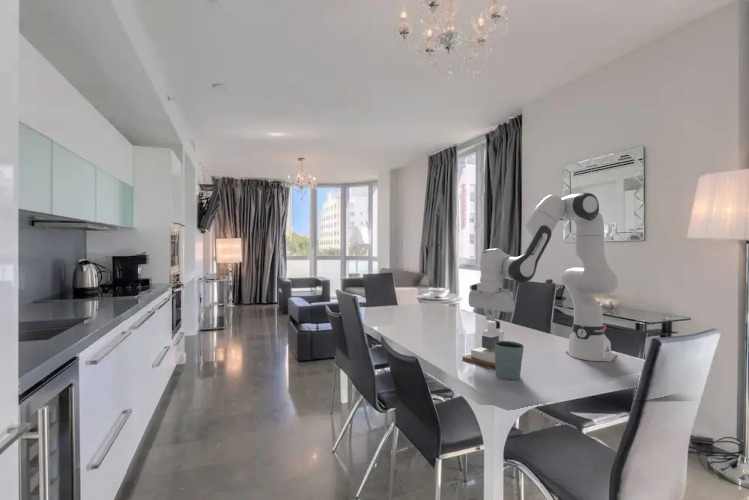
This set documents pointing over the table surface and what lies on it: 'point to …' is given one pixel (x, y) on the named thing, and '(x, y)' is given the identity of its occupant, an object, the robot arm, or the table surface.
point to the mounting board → (479, 361)
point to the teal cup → (508, 359)
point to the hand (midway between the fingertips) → (490, 320)
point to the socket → (483, 354)
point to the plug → (489, 341)
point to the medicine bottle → (494, 329)
